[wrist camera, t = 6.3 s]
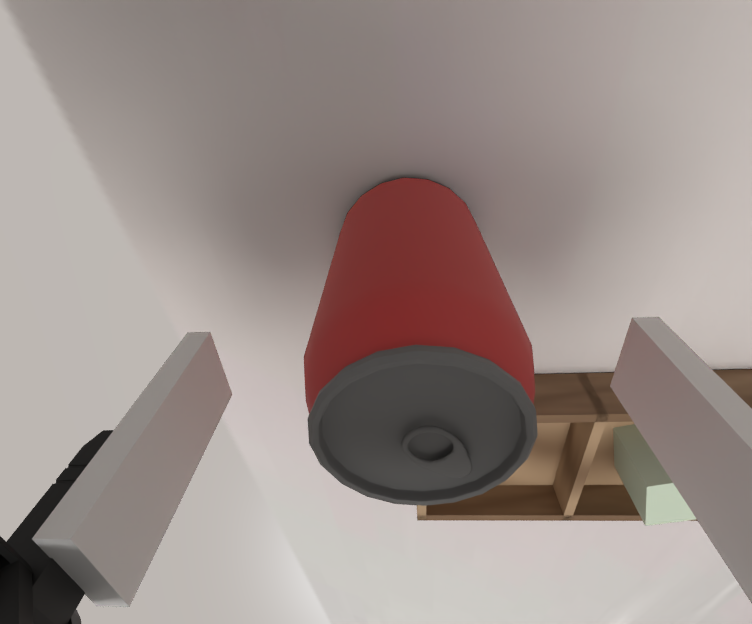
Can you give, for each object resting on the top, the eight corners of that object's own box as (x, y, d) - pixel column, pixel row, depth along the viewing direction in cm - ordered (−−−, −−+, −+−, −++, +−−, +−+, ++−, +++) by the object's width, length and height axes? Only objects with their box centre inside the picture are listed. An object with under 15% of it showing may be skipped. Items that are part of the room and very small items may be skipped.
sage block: (613, 427, 25) (646, 486, 22) (684, 415, 24) (731, 474, 21) (614, 466, 27) (645, 525, 24) (680, 456, 26) (722, 515, 23)
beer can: (399, 319, 22) (402, 542, 12) (312, 235, 20) (229, 429, 10) (502, 248, 20) (612, 456, 10) (419, 140, 17) (452, 273, 7)
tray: (413, 377, 25) (415, 417, 22) (757, 369, 23) (804, 410, 21) (415, 478, 30) (417, 520, 28) (693, 476, 29) (723, 520, 26)
